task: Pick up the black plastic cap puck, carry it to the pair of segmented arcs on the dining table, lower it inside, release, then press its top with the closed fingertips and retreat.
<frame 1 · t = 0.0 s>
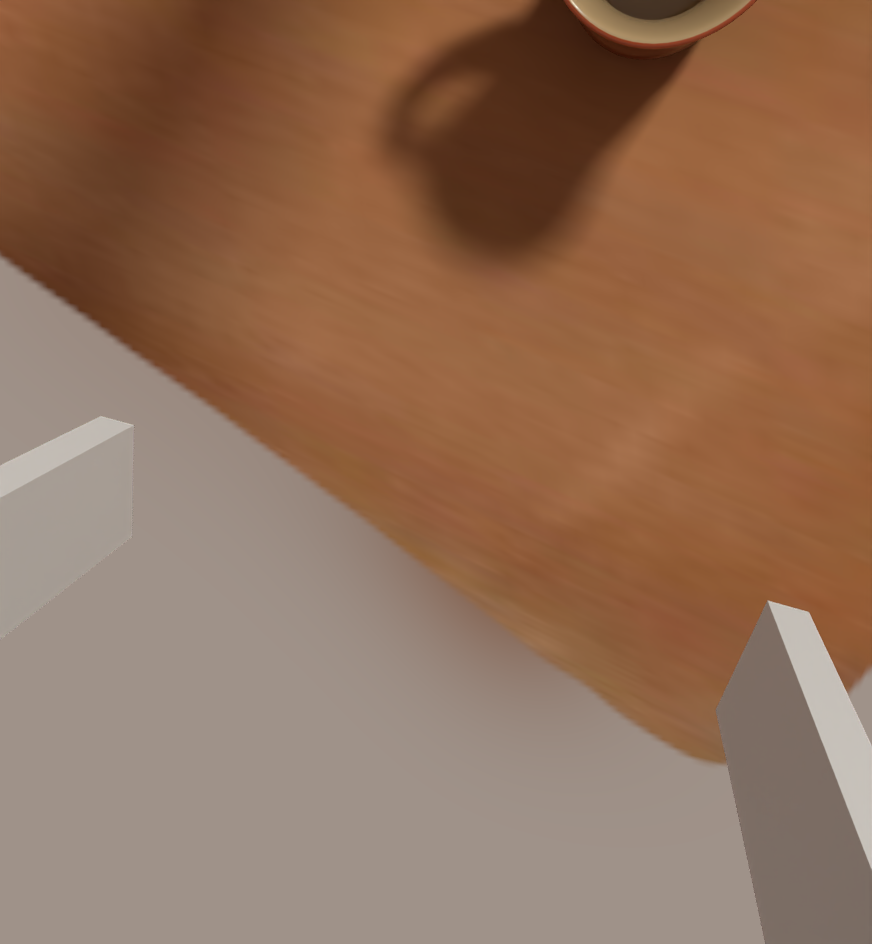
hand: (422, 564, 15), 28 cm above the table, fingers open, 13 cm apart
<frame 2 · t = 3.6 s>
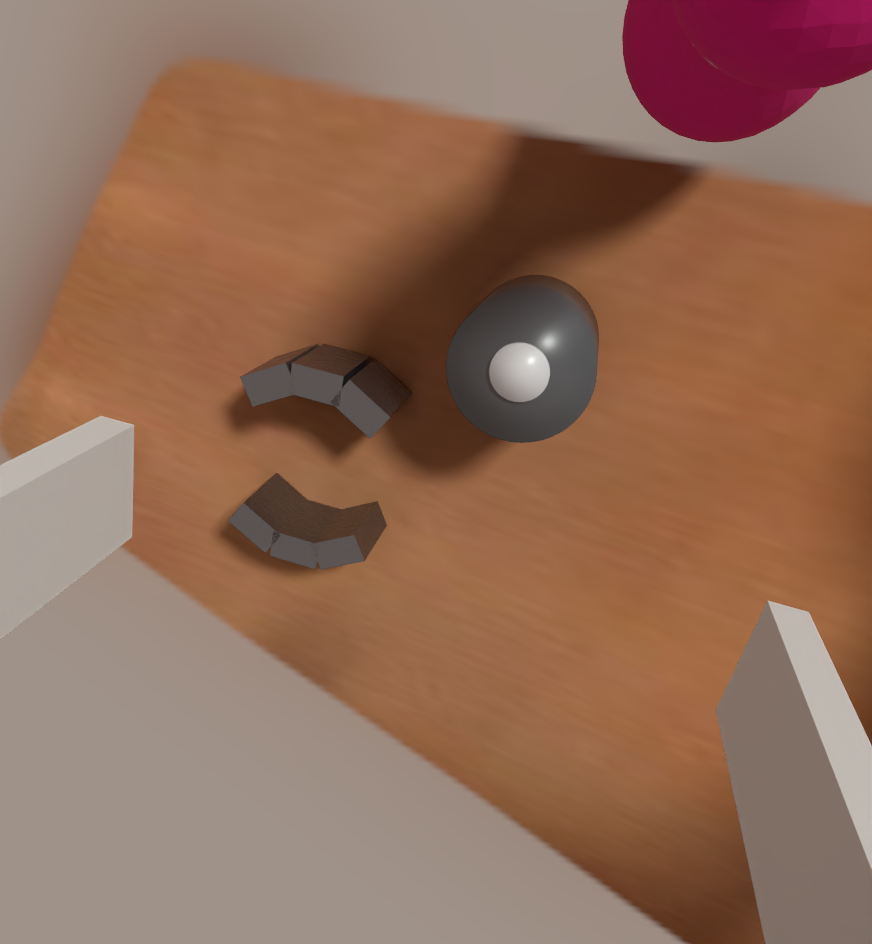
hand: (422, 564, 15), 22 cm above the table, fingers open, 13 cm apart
pair of segmented arcs: (332, 443, 38), on the table
cap: (533, 340, 34), on the table
pepper mill: (715, 45, 28), on the table
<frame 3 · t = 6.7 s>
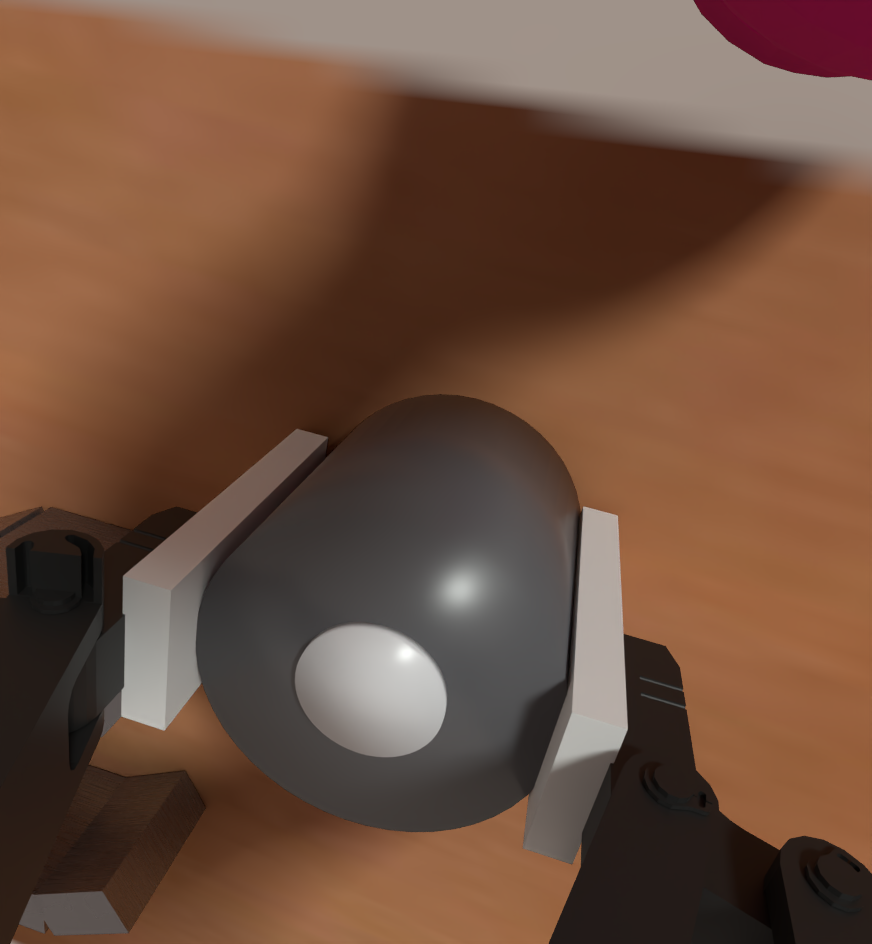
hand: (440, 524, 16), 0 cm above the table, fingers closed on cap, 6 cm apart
pair of segmented arcs: (95, 675, 21), on the table
cap: (448, 519, 17), on the table, touching gripper
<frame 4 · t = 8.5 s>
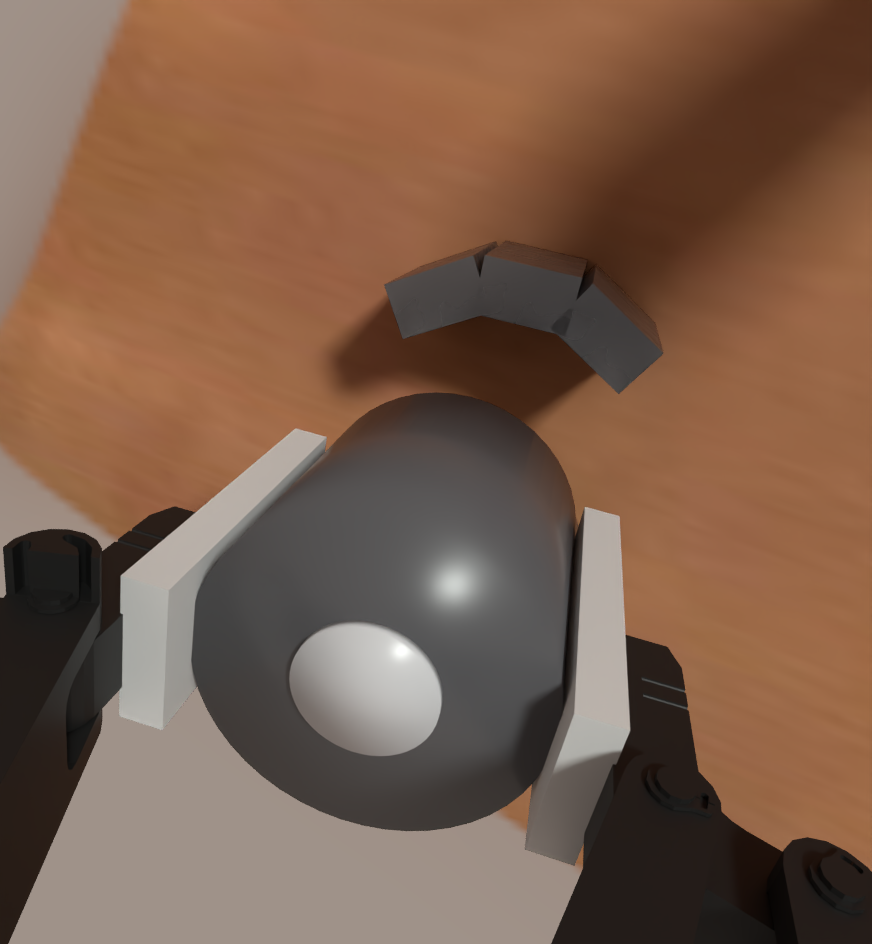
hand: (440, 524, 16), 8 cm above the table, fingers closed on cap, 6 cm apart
pair of segmented arcs: (505, 411, 24), on the table
cap: (443, 518, 17), point 8 cm above the table, touching gripper
when the fingers open (0 cm above the table, at t = 10.3 s): cap stays where it is, on the table.
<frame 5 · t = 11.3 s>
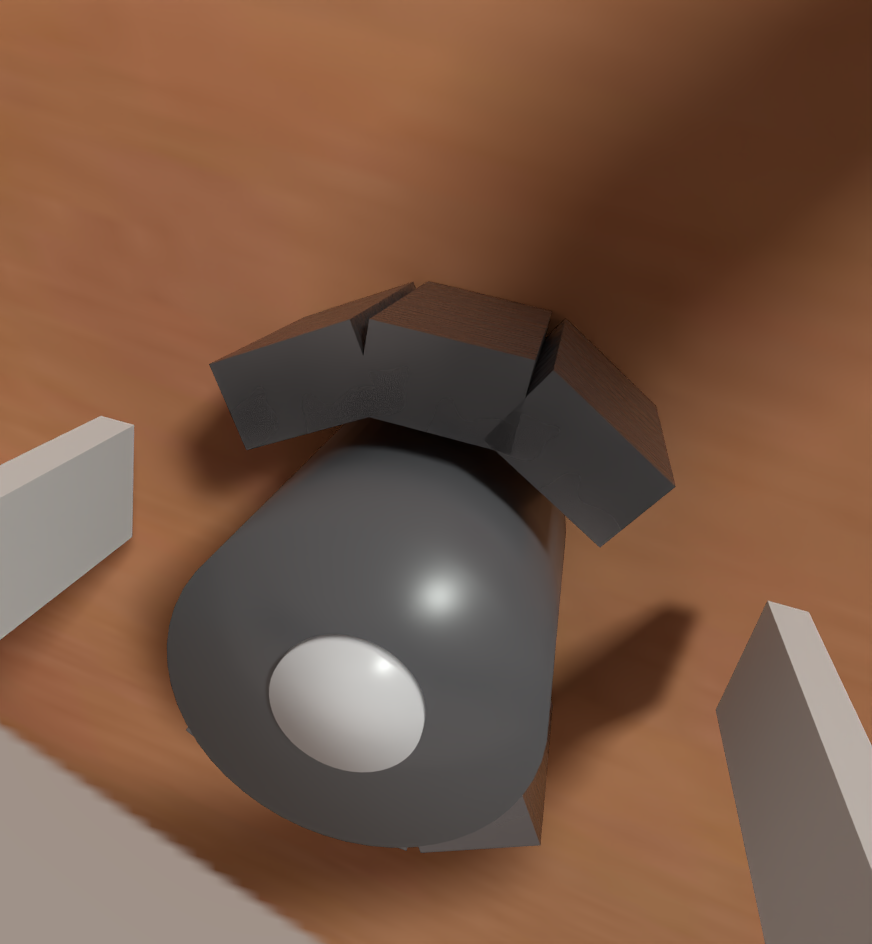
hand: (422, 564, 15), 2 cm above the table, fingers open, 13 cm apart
pair of segmented arcs: (437, 526, 16), on the table
cap: (431, 524, 16), on the table
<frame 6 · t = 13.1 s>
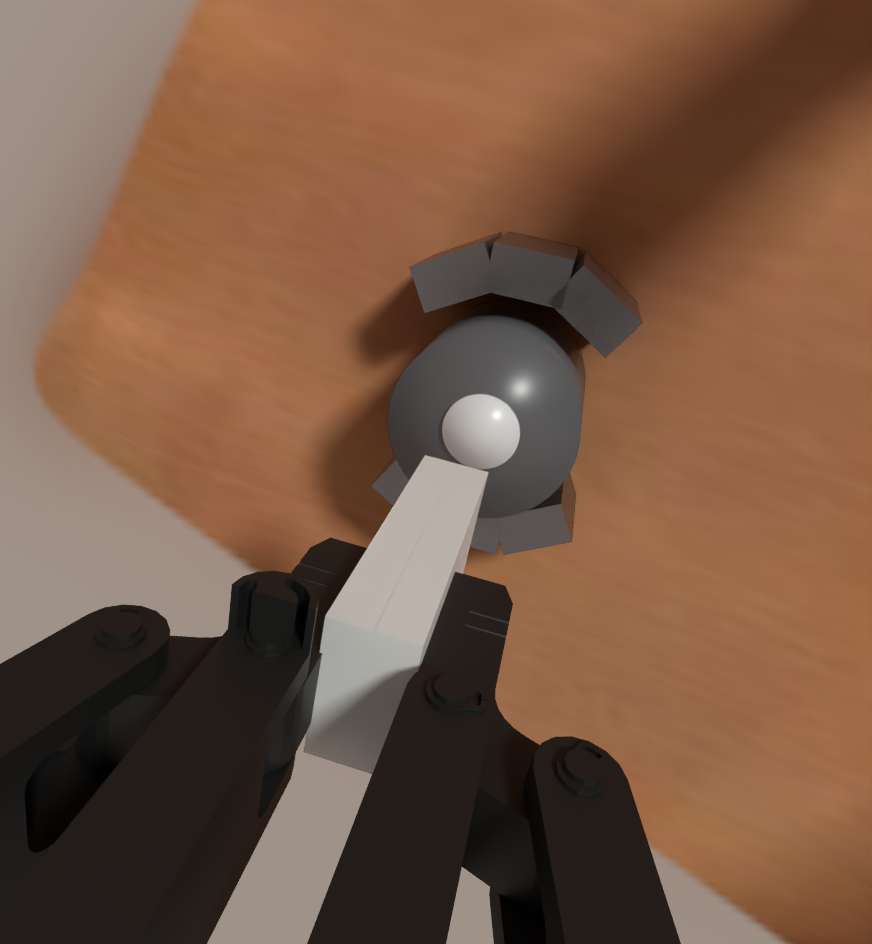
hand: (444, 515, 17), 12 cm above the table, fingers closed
pair of segmented arcs: (509, 379, 27), on the table
cap: (505, 379, 28), on the table
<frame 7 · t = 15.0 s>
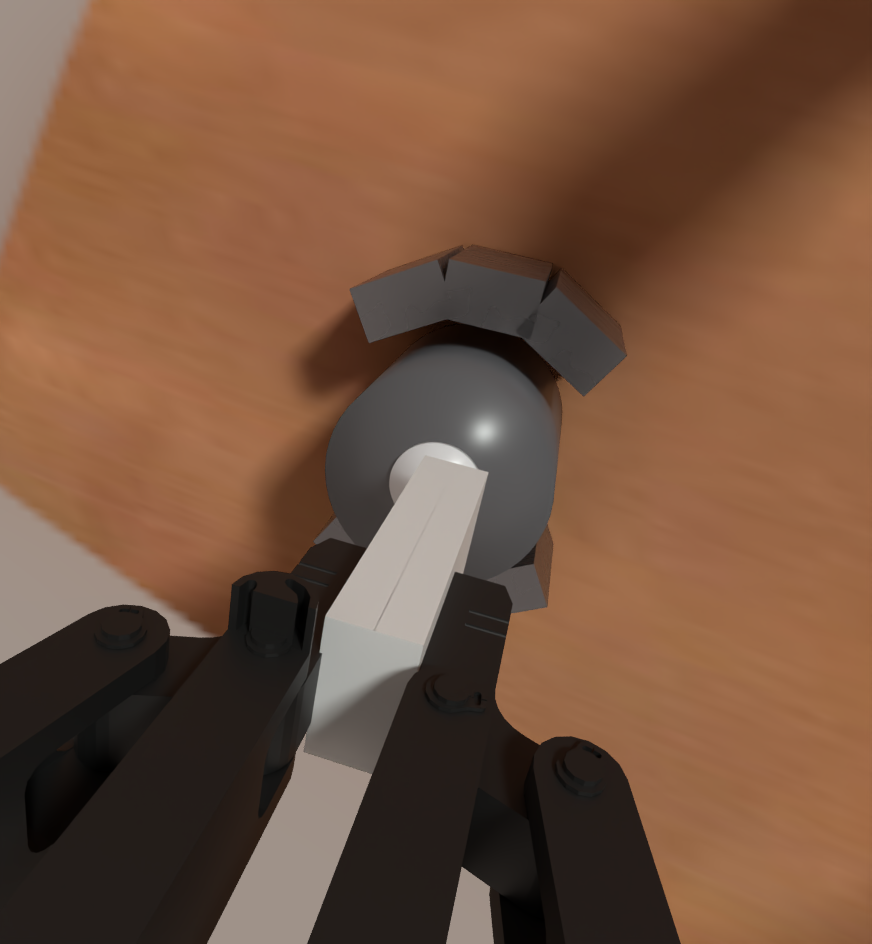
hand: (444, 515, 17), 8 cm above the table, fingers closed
pair of segmented arcs: (474, 414, 24), on the table
cap: (470, 413, 24), on the table
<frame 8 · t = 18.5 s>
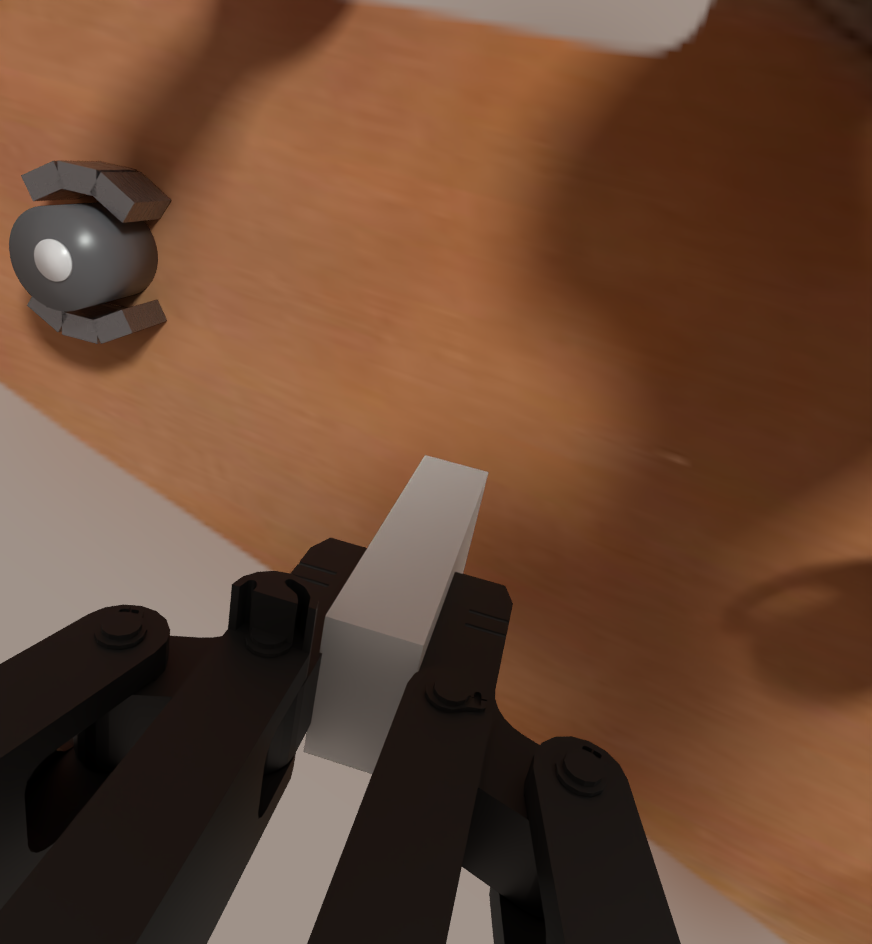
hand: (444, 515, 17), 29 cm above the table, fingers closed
pair of segmented arcs: (117, 249, 48), on the table
cap: (116, 250, 48), on the table
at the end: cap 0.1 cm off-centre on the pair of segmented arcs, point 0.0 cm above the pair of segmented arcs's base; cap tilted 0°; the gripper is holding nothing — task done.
